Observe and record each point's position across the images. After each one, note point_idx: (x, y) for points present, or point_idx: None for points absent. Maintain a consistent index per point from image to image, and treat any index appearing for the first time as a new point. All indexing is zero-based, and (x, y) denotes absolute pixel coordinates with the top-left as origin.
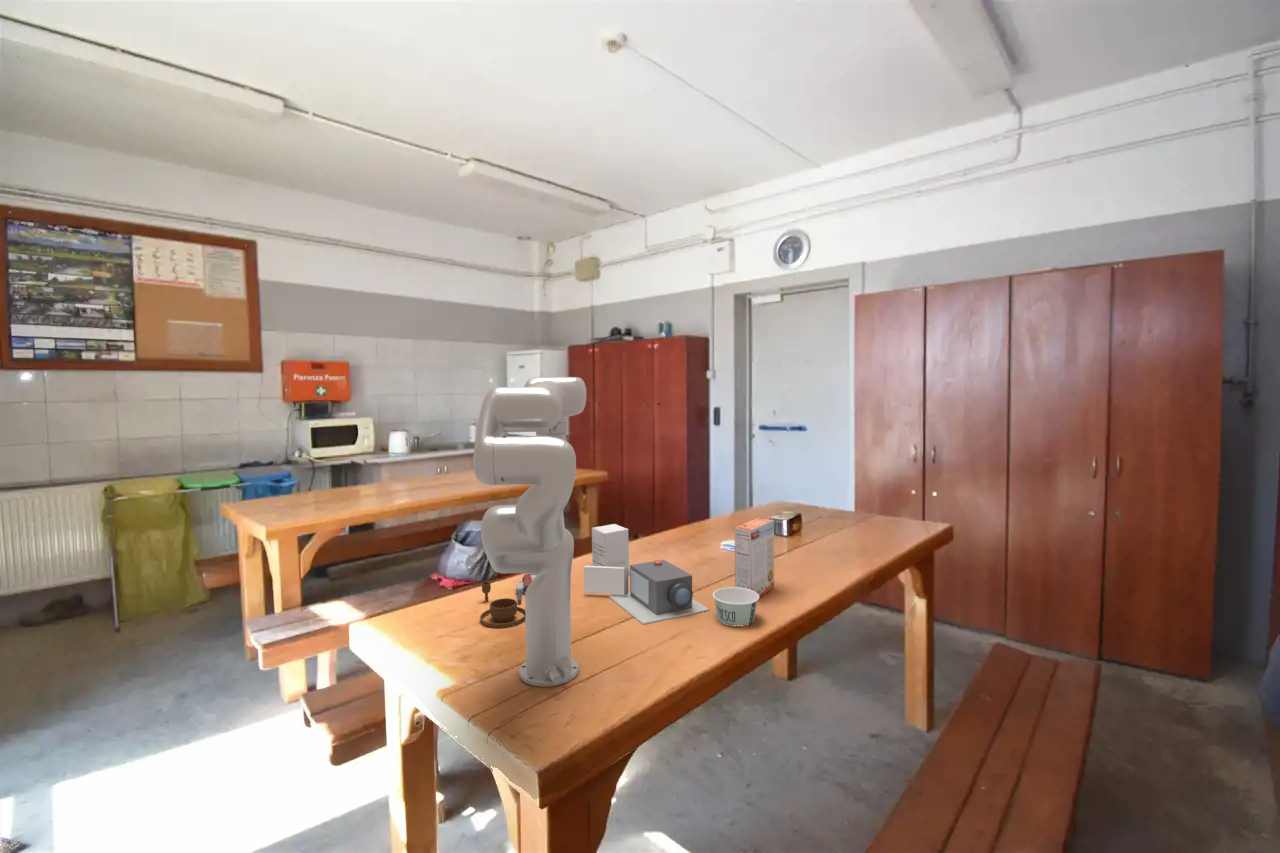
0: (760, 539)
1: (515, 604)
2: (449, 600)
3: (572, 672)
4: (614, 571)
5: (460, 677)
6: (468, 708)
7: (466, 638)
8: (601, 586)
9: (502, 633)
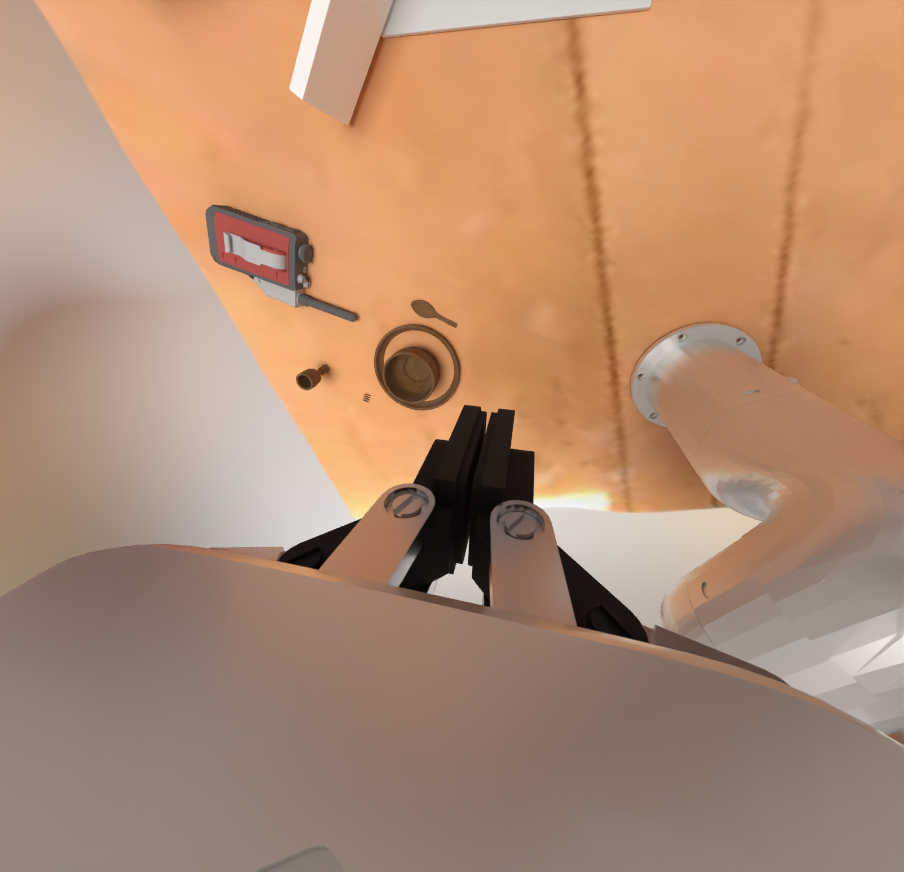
0: None
1: (423, 360)
2: (303, 418)
3: (753, 353)
4: None
5: (594, 483)
6: (689, 501)
7: None
8: (360, 52)
9: (480, 390)
